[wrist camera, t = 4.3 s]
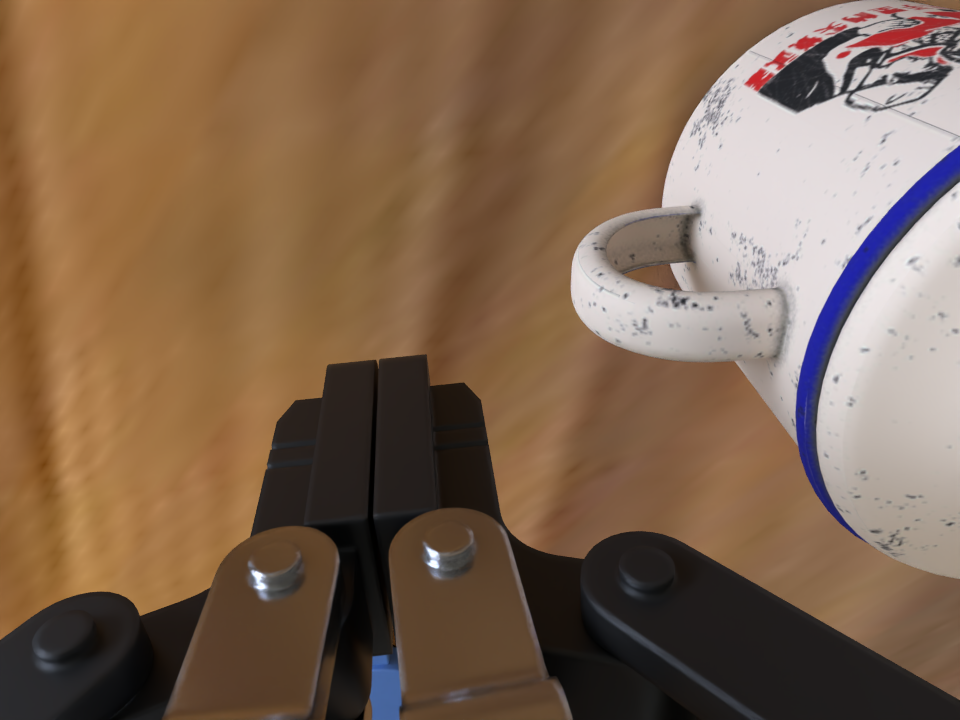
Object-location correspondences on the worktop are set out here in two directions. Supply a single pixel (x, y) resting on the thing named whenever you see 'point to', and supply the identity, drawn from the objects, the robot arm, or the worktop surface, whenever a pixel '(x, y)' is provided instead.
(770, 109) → the teacup with lid
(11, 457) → the worktop surface
